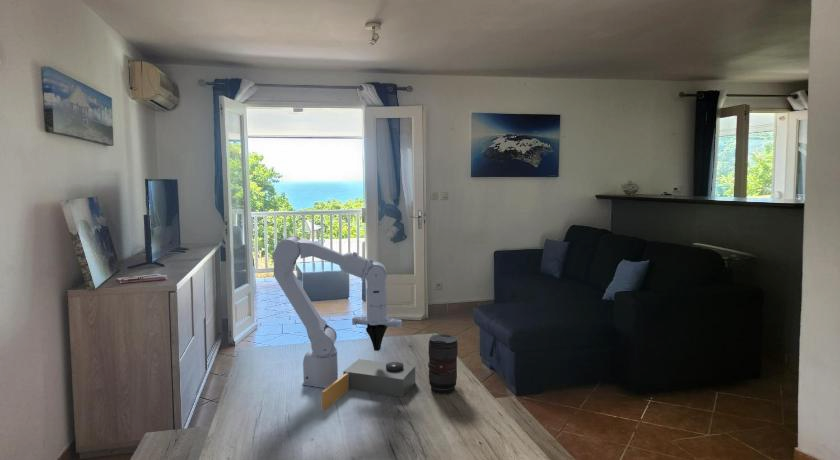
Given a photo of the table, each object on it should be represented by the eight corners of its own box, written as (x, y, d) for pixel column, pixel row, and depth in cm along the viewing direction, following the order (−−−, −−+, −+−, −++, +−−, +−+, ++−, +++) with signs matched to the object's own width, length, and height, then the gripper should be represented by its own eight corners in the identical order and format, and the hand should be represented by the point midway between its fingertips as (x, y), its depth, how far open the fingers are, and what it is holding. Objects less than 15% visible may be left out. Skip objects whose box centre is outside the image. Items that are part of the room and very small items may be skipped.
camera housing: (343, 388, 148) (343, 367, 147) (359, 375, 157) (358, 355, 156) (403, 397, 142) (402, 375, 141) (415, 382, 151) (415, 362, 151)
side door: (345, 389, 147) (344, 372, 147) (349, 389, 147) (349, 372, 146) (320, 409, 135) (319, 391, 134) (325, 410, 134) (324, 392, 134)
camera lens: (455, 397, 142) (455, 343, 140) (426, 394, 143) (426, 342, 142) (459, 385, 150) (459, 334, 148) (431, 382, 151) (431, 332, 149)
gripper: (347, 306, 148) (348, 352, 150) (396, 309, 145) (397, 356, 146) (356, 300, 155) (357, 344, 157) (403, 302, 151) (404, 348, 153)
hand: (377, 349), depth 152 cm, fingers closed
